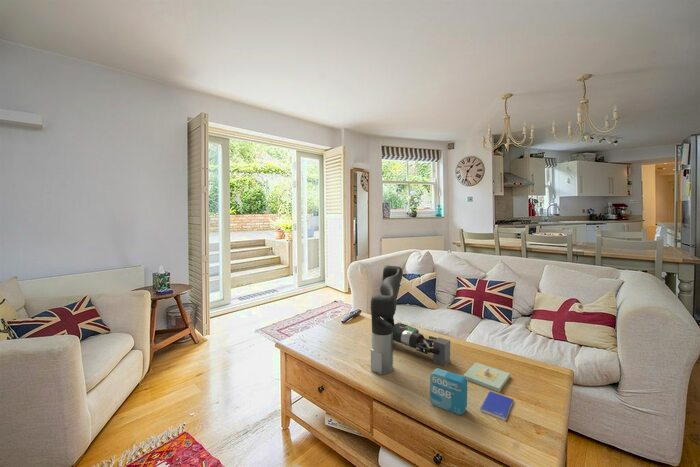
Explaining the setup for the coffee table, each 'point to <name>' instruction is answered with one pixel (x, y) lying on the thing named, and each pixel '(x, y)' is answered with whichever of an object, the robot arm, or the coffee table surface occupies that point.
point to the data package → (448, 391)
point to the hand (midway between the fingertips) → (443, 349)
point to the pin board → (487, 376)
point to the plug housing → (442, 351)
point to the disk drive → (406, 327)
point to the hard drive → (497, 405)
